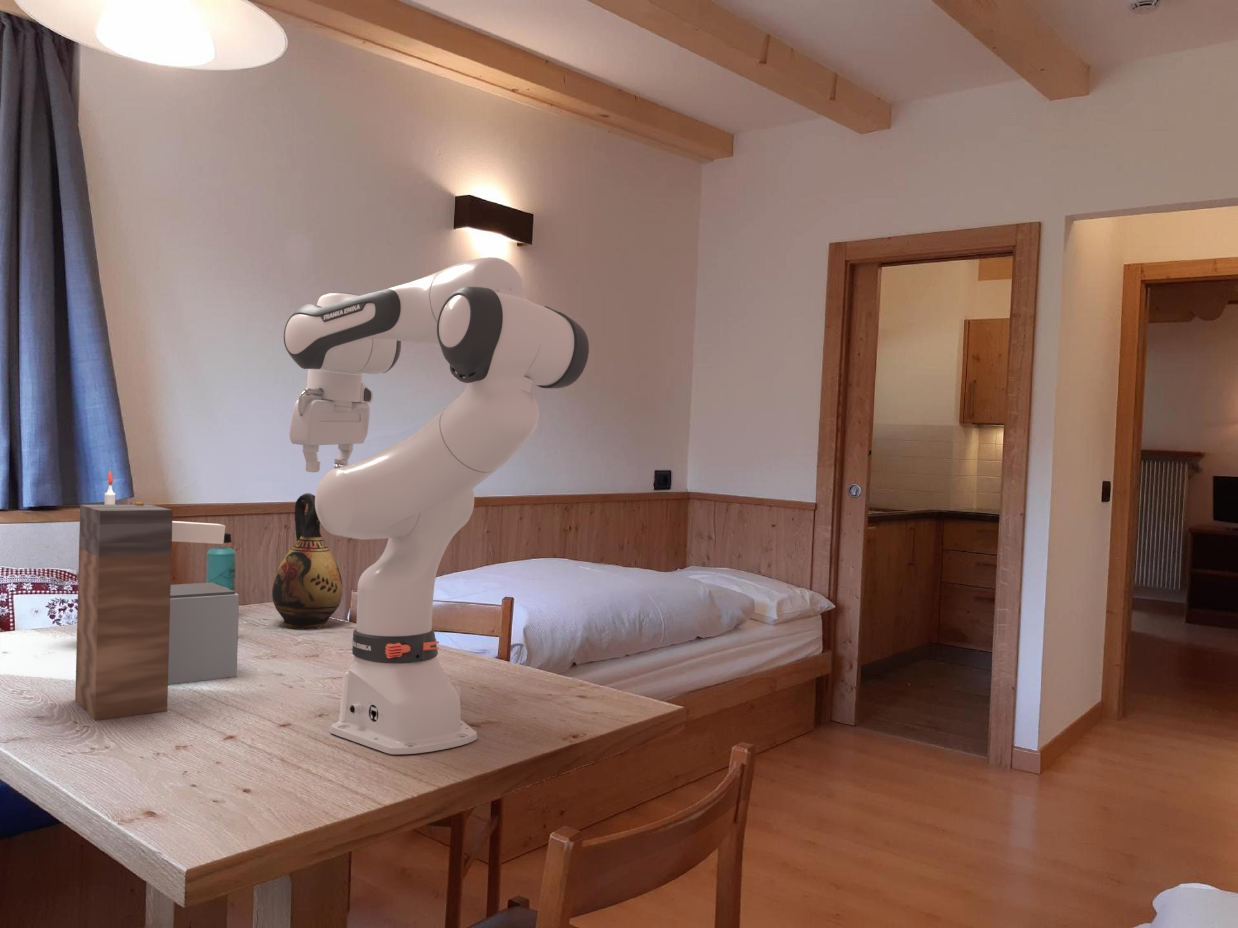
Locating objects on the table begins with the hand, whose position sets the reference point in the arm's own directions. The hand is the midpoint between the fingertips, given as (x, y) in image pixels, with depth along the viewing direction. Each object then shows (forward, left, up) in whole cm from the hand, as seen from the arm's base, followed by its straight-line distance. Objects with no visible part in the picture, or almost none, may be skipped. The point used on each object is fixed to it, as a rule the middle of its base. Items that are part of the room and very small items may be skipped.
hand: (326, 470), depth 169 cm
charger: (+5, +24, -12) cm, 27 cm away
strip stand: (+5, +30, -37) cm, 48 cm away
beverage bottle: (+73, -6, -37) cm, 82 cm away
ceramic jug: (+57, -20, -37) cm, 71 cm away
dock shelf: (+22, +17, -37) cm, 46 cm away
